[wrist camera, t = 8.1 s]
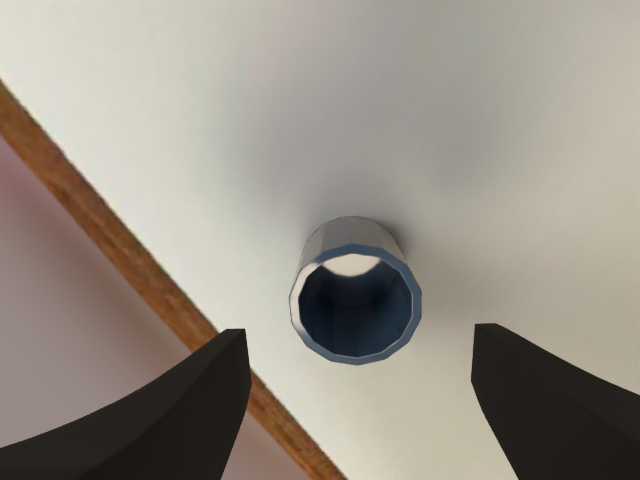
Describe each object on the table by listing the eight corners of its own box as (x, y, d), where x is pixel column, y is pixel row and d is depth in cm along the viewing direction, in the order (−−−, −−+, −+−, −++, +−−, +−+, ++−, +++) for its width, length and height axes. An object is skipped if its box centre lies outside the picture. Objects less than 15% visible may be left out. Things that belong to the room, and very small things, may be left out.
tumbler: (422, 267, 19) (450, 312, 14) (346, 327, 20) (348, 387, 16) (356, 194, 18) (362, 216, 14) (280, 261, 20) (261, 303, 15)
